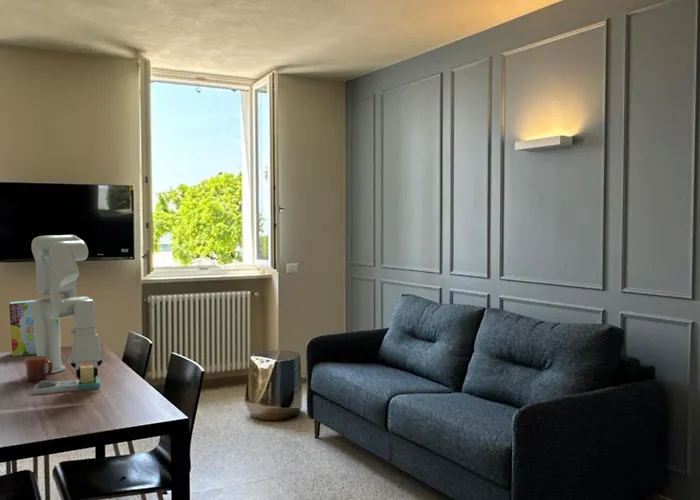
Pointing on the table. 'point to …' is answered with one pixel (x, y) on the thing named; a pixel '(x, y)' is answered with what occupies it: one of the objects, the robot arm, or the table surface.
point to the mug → (37, 368)
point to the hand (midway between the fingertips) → (87, 377)
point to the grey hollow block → (46, 383)
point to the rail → (66, 386)
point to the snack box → (24, 328)
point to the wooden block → (87, 374)
